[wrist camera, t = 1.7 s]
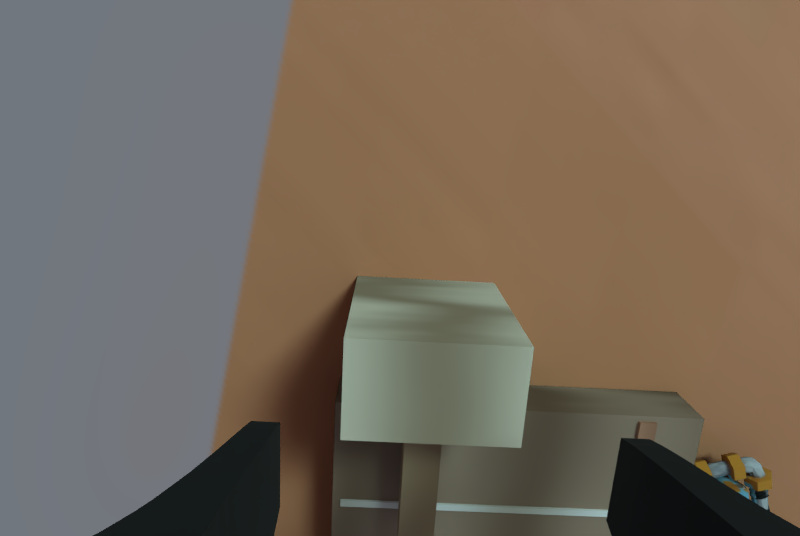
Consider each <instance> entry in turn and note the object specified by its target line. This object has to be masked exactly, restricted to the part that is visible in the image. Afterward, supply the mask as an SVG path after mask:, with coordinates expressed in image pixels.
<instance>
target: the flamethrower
mask: <svg viewBox="0 0 800 536" xmlns="http://www.w3.org/2000/svg"><path fill="white" fill-rule="evenodd" d="M721 456H722V461H720V462H714V463H709V464H707V463H706V461H705V460H702V459H698V460H695V464H694V465H695V466H697V467H698V468H700V469H701V470H703V471H704V472H706V473H708V474H709V475H711V476H712V477H714V478H716V479H717V480H719V481H720V482H722V483H724V484H725V485H727V486H728V487H730V488H732V489H733V490H735V491H736V492H738V493H740V494H741V495H743V496H745V497H746V498H748V499H749V495H748V491H747V489H746V487H745V486H748V487H750V488H749V491H750V496H751V500H752V501H753V502H755V503H756V504H758V505H760V506H761V507H763V508H765V509H766V510H768V511H770V509H769V506H768V496H769V495H768V489H772V474H771V471H770V470H768V469H766V468H763V467H762V466H761V464H760V463H758V462H757V461H756V460H755V459H753V458H751V457H741V458H740V457H739V455H738V454H736V453H728V454H724V455H721ZM726 475H728V477H729V478H727V477H723V476H726ZM741 479H744V484H745V486H744V485H742V484H741V483H739V482H738V481H736V480H741Z"/></svg>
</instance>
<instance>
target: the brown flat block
mask: <svg viewBox="0 0 800 536" xmlns="http://www.w3.org/2000/svg"><path fill="white" fill-rule="evenodd" d="M341 404H342V377H340V381H339V386H338V391H337V396H336V401H335V427H334V459H333V492H332V524H331V536H397V519H398V504H399V489H400V474H401V459H402V444H403V443H396V442H373V441H350V440H340V433H341ZM703 422H704V418H703V417H702V416H701V415H700V414H699V413H697V412H696V411H695V410H694V409H693V408H692V407H691V406H690V405H689V404H688V403H687V402H686V401H685V400H684V399H683V398H682V397H681V396H680V395H679V394H678V393H677V392H659V391H637V390H616V389H595V388H573V387H552V386H530V385H529V391H528V398H527V406H526V414H525V422H524V430H523V438H522V445H521V448H509V447H487V446H464V445H442V447H441V459H440V470H439V482H438V494H437V505H436V517H435V528H434V536H611V533H610V530H609V527H608V524H607V521H606V519H607V513H608V508H609V502H610V497H611V491H612V485H613V480H614V474H615V469H616V463H617V457H618V452H619V446H620V441H621V438H637V439H650V440H652V441H654V442H656V443H658V444H660V445H662V446H664V447H666V448H667V449H669V450H671V451H672V452H674V453H676V454H677V455H679V456H681V457H682V458H684V459H685V460H687V461H689V462H690V463H692V464H693V465H694V464H695V459H696V454H697V450H698V445H699V441H700V436H701V432H702V427H703Z"/></svg>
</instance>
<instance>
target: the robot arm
mask: <svg viewBox="0 0 800 536" xmlns="http://www.w3.org/2000/svg"><path fill="white" fill-rule="evenodd" d="M279 508H280V422H257V421H251V422H249V423H248V424H247V425H246V426H244V427H243V428H242V429H241V430H240V431H239V432H237V433H236V434H235V435H234V436H233V437H231V438H230V439H229V440H228V441H227V442H226V443H225V444H223V445H222V446H221V447H220V448H219V449H218V450H216V451H215V452H214V453H213V454H212V455H210V456H209V457H208V458H207V459H206V460H204V461H203V462H202V463H201V464H200V465H198V466H197V467H196V468H195V469H193V470H192V471H191V472H190V473H188V474H187V475H186V476H184V477H183V478H182V479H180V480H179V481H178V482H176V483H175V484H173V485H172V486H171V487H169V488H168V489H167V490H165V491H164V492H163V493H161V494H160V495H159V496H157V497H156V498H154V499H153V500H152V501H150V502H148V503H147V504H145V505H144V506H143V507H141V508H139V509H138V510H136V511H135V512H133V513H131V514H130V515H128V516H126V517H125V518H123V519H122V520H120V521H118V522H116V523H115V524H113V525H111V526H110V527H108V528H106V529H104V530H103V531H101V532H99V533H98V534H95V535H93V536H274V532H275V528H276V523H277V518H278V513H279ZM606 521H607V524H608V527H609V530H610V533H611V536H800V528H798V527H796V526H794V525H793V524H791V523H789V522H787V521H786V520H784V519H782V518H780V517H779V516H777V515H775V514H773V513H772V512H770V511H768V510H766V509H765V508H763V507H761V506H760V505H758V504H756V503H755V502H753V501H751V500H750V499H748V498H746V497H745V496H743V495H741V494H740V493H738V492H736V491H735V490H733V489H732V488H730V487H728V486H727V485H725V484H724V483H722V482H720V481H719V480H717V479H716V478H714V477H712V476H711V475H709V474H708V473H706V472H704V471H703V470H701V469H700V468H698V467H697V466H695V465H693V464H692V463H690V462H689V461H687V460H685V459H684V458H682V457H681V456H679V455H677V454H676V453H674V452H672V451H671V450H669V449H667V448H666V447H664V446H662V445H660V444H658V443H656V442H654V441H652V440H650V439H637V438H621V441H620V446H619V452H618V457H617V463H616V469H615V474H614V480H613V485H612V491H611V497H610V502H609V508H608V513H607V519H606Z"/></svg>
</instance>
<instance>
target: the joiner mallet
mask: <svg viewBox="0 0 800 536" xmlns="http://www.w3.org/2000/svg"><path fill="white" fill-rule="evenodd" d="M533 351H534V346H533V345H532V343H531V342H530V340H529V338H528V337H527V335H526V334H525V332H524V330H523V329H522V327H521V326H520V324H519V322H518V321H517V319H516V317H515V316H514V314H513V313H512V311H511V309H510V308H509V306H508V305H507V303H506V301H505V300H504V298H503V296H502V295H501V293H500V292H499V290H498V288H497V287H496V285H495V284H494V283H484V282H465V281H445V280H426V279H407V278H387V277H368V276H358V277H357V281H356V286H355V290H354V294H353V299H352V303H351V308H350V312H349V317H348V321H347V326H346V330H345V335H344V345H343V374H342V404H341V433H340V440H350V441H373V442H396V443H403V444H402V459H401V474H400V489H399V504H398V519H397V536H434V528H435V517H436V505H437V494H438V482H439V470H440V459H441V447H442V445H464V446H487V447H509V448H521V445H522V438H523V430H524V422H525V414H526V406H527V398H528V391H529V383H530V375H531V367H532V359H533Z"/></svg>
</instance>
